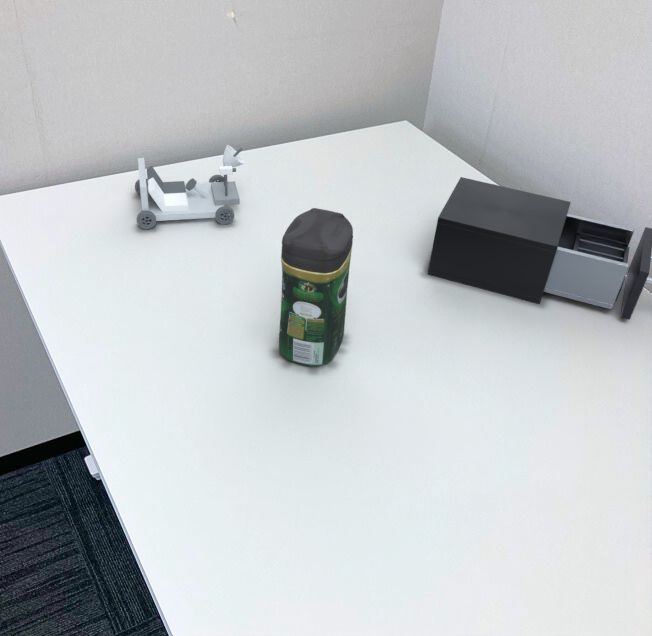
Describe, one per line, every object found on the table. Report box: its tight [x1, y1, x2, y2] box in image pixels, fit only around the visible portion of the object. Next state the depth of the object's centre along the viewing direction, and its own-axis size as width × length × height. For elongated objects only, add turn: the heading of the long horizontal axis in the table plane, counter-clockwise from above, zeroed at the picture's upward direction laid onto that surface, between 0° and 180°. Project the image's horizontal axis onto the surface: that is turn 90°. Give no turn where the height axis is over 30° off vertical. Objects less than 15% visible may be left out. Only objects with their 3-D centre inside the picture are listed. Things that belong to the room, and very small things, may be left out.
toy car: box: [134, 144, 245, 230], centre depth 121 cm, size 18×10×12 cm
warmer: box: [427, 176, 571, 305], centre depth 112 cm, size 17×14×10 cm
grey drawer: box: [543, 212, 652, 320], centre depth 108 cm, size 20×13×8 cm, turn 67°
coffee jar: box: [278, 207, 354, 367], centre depth 93 cm, size 10×8×19 cm
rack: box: [572, 235, 630, 303], centre depth 109 cm, size 8×9×4 cm
